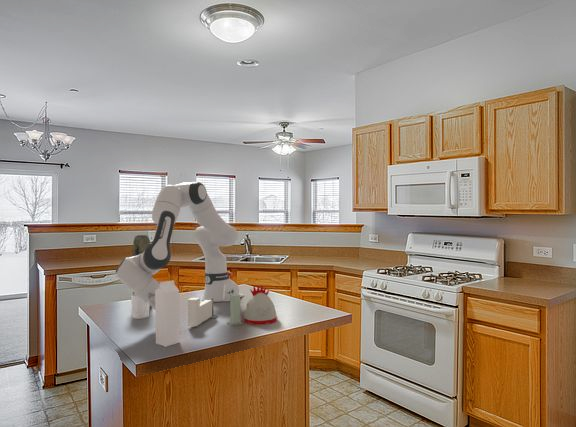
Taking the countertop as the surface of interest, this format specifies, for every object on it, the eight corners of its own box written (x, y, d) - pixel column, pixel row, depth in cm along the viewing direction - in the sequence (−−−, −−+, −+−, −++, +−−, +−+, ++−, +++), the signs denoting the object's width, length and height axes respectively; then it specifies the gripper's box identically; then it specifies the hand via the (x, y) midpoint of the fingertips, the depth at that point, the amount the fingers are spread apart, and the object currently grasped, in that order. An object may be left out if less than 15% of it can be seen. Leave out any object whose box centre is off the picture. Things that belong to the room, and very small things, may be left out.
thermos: (127, 310, 193) (126, 236, 192) (140, 304, 204) (139, 234, 204) (144, 310, 191) (143, 236, 191) (156, 305, 203) (156, 234, 202)
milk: (179, 342, 145) (179, 281, 145) (165, 347, 140) (164, 283, 140) (169, 339, 149) (169, 279, 149) (155, 343, 144) (154, 281, 144)
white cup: (130, 319, 176) (130, 296, 176) (132, 315, 183) (132, 293, 183) (149, 318, 178) (149, 295, 178) (150, 314, 186) (150, 292, 185)
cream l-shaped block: (205, 315, 178) (204, 291, 178) (212, 316, 177) (212, 292, 177) (188, 325, 163) (187, 299, 162) (196, 326, 162) (195, 299, 162)
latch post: (227, 323, 169) (226, 294, 169) (237, 321, 172) (237, 293, 172) (232, 326, 165) (232, 296, 165) (243, 324, 168) (243, 295, 168)
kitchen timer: (240, 317, 178) (240, 283, 178) (270, 314, 183) (270, 281, 183) (248, 326, 165) (248, 289, 165) (280, 322, 170) (280, 286, 170)
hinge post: (211, 314, 184) (211, 296, 184) (220, 316, 180) (220, 298, 180) (201, 317, 179) (200, 299, 179) (210, 319, 175) (209, 301, 175)
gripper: (152, 290, 151) (180, 315, 153) (159, 281, 171) (183, 303, 173) (140, 303, 151) (168, 327, 153) (148, 292, 171) (172, 314, 173)
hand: (176, 314), depth 163 cm, fingers closed
